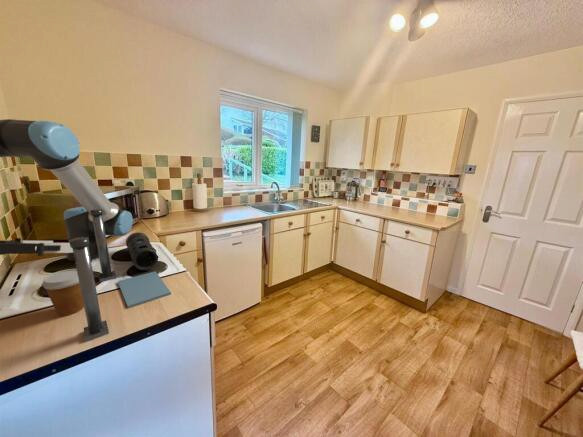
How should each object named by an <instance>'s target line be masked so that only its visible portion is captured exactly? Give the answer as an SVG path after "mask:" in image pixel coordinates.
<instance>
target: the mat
mask: <svg viewBox="0 0 583 437" xmlns="http://www.w3.org/2000/svg"><path fill="white" fill-rule="evenodd" d="M117 284H118V286H119V288H120V291H121V294H122V297H123V298H124V301H125V304H126V306H127V309H130V308H133V307H137V306H140V305H143V304H145V303H148V302H151V301H154V300H157V299H161V298H163V297H167V296H169V295H170V296H171V294H172V292H171V290H170V289H169V287H168V286H167V284H165V282H164V281H163V279H162V278H161V277H160V275H159V274H158V273H157V271H152V272H149V273H144V274H140V275H136V276H131V277H128V278H124V279H120V280H118V281H117Z"/></svg>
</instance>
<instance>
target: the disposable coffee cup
mask: <svg viewBox="0 0 583 437" xmlns="http://www.w3.org/2000/svg"><path fill="white" fill-rule="evenodd" d="M41 286H42V287H43V288H44V289H45V290H46V292H47V295H48V297H49V299H50V301H51V303H52V306H53V307H54V310H55V312H56V315H57V316H59V317H65V316H70V315H73V314H76V313H79V312H80V311H81V310H83V309H84V304H83V299H82V294H81V289H80V284H79V279H78V274H77V269H76V268H68V269H64V270H63V269H62V270H59V271H56V272H53V273H50V274H48V275H46V276H45V277H44V278H43V280H42V283H41Z"/></svg>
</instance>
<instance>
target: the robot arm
mask: <svg viewBox="0 0 583 437" xmlns="http://www.w3.org/2000/svg"><path fill="white" fill-rule="evenodd" d="M80 152H81V146H80V140H79V138H78V136H77V135H76V134H75V133H74V131H73V130H71V129H70V128H69V127H67V126H65V125H64V124H61V123H59V122H52V121H49V120H25V119H23V120H22V119H11V118H10V119H9V118H7V119H0V158H10V157H11V158H13V157H14V158H30V159H32V160H33V161H34V163H35V164H37V166H38V167H39V168H41V169H42V170H45V171H50V172H51V173H52V174H53V175H54V176H55V178H57V179H58V181H60V183H61V184H62V185H63V186H64V187H65V188H66V189H67V191H69V193H71V195H72V196H73V197H74V198H75V199H76V200H77V201H78V202H79V204H80V205H81V206H78V207H72V208H68V209H65V210H64V212H63V222H64V226H65V229H66V235H67V239H68V242H54V240H22V239H21V237H15V238H14V239H10V240H0V256H3V255H10V254H11V255H13V254H15V255H20V254H21V255H24V254H26V255H29V254H30V255H36V254H37V257H43V255H44V254H65V256H66V259H67V260H68V261H71V262H75V259H74V254H73V249H72V248H71V247H70V242H69V240H71V239H74V238H79V237H88V238H89V245H88V247H89V253H90V258H91V260H94V259H97V258H98V259H99V254H98V248H97V242H96V236H95V231H94V225H93V219H92V215H91V213H90V210H94V209H102V210H103V214H102V216H103V222H104V228H105V234H106V236H110V237H122V236H126V235H128V234H129V232H130V231H131V229H132V226H133V215H132V213H131V212H130V211H128V210H121V208H120V206H119V205H118V204H117V203H114V202H111V201H110V199H109V198H108V197H107V196H106V195H105V193H104V191H102V189H101V187H99V185H98V184H97V182H95V180H94V179H93V178H92V177H91V175H90V174H89V173H88V170H86V168H85V167H84V165H82V163H81V162H80V161H79V159H80V158H81V157H80Z"/></svg>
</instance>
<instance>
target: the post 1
mask: <svg viewBox="0 0 583 437" xmlns="http://www.w3.org/2000/svg"><path fill="white" fill-rule="evenodd" d="M69 242H70V247H71V248H72V249H73V254H74V259H75V261H74V262H75V263H74V264H75V269H77V274H78V279H79V284H80V289H81V294H82V299H83V304H84V307H83V309H84V314H85V318H86V323H87V326H85V327H83V334H84V342H85V343H86V342H90V341H92V340H95V339H98V338H100V337H103V336H105V335H108V334H110V331H109V330H110V329H109V326H108V323H107V320H106V319H105V320H103V319H102V315H101V309H100V304H99V297H98V292H97V286H96V281H95V280H96V279H95V276H94V270H93V264H92V259H91V258H90V253H89V247H88V245H89V238H88V237H79V238H74V239H71V240H69V239H68V243H69Z"/></svg>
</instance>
